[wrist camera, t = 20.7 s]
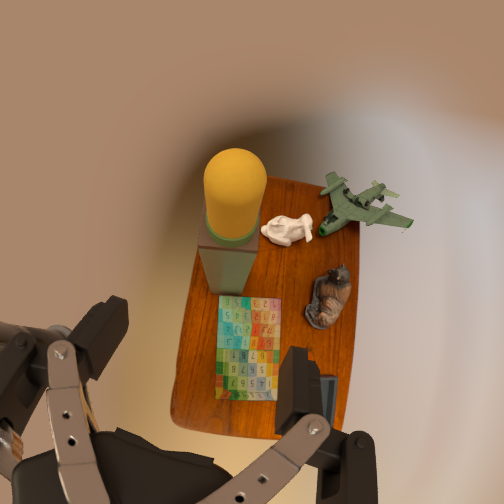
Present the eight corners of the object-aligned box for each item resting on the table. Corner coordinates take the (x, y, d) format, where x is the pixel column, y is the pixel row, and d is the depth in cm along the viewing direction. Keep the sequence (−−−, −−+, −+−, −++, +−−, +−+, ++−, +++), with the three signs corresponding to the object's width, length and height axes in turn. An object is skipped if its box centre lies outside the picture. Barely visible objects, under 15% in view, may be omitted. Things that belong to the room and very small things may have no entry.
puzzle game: (281, 297, 52) (278, 401, 45) (277, 301, 56) (274, 396, 50) (219, 294, 51) (214, 400, 44) (219, 298, 55) (215, 395, 49)
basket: (274, 426, 48) (277, 431, 44) (278, 375, 51) (282, 377, 48) (326, 423, 49) (332, 428, 45) (331, 374, 52) (338, 376, 49)
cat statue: (329, 332, 55) (349, 330, 45) (298, 324, 55) (313, 321, 45) (340, 279, 59) (361, 268, 49) (311, 270, 59) (327, 257, 49)
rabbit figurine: (312, 225, 62) (326, 206, 53) (313, 256, 60) (329, 242, 50) (260, 220, 61) (266, 199, 52) (259, 253, 59) (266, 237, 49)
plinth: (210, 293, 55) (197, 245, 27) (213, 265, 57) (205, 192, 29) (240, 296, 56) (258, 250, 27) (242, 267, 57) (261, 197, 29)
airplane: (313, 220, 55) (314, 251, 63) (420, 234, 48) (409, 263, 56) (325, 158, 69) (326, 187, 77) (408, 168, 62) (402, 196, 69)
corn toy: (203, 245, 27) (193, 190, 17) (209, 200, 28) (205, 131, 18) (254, 250, 27) (273, 197, 17) (257, 204, 29) (274, 137, 19)
